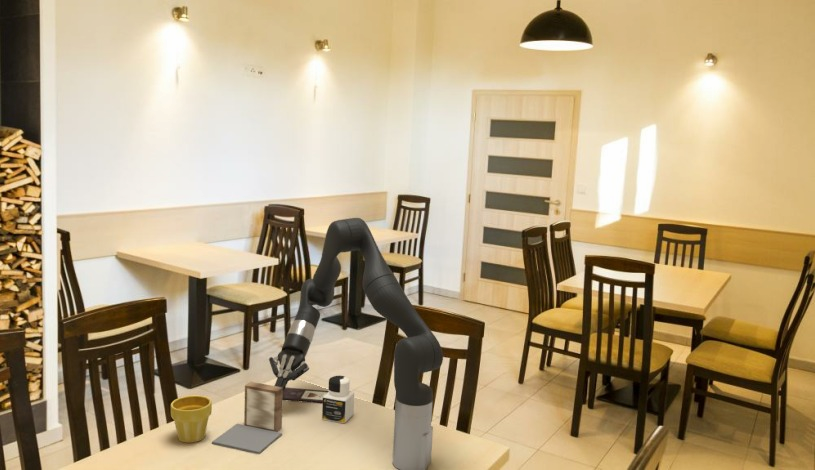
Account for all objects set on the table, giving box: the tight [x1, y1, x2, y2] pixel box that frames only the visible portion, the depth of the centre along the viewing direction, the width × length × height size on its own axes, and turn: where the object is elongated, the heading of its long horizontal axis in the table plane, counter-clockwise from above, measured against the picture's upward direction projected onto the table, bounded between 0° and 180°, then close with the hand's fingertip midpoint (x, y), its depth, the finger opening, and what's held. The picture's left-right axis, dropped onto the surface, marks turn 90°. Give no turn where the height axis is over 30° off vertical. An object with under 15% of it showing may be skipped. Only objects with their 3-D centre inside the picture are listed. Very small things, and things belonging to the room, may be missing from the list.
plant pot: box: [170, 394, 213, 444], centre depth 178 cm, size 10×10×10 cm
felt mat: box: [211, 423, 283, 455], centre depth 179 cm, size 14×12×1 cm
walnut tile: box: [243, 381, 283, 432], centre depth 186 cm, size 10×3×12 cm, turn 72°
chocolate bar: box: [282, 386, 329, 404], centre depth 210 cm, size 9×1×18 cm
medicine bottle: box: [321, 375, 355, 424], centre depth 195 cm, size 7×7×12 cm
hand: (278, 391), depth 194 cm, fingers closed
